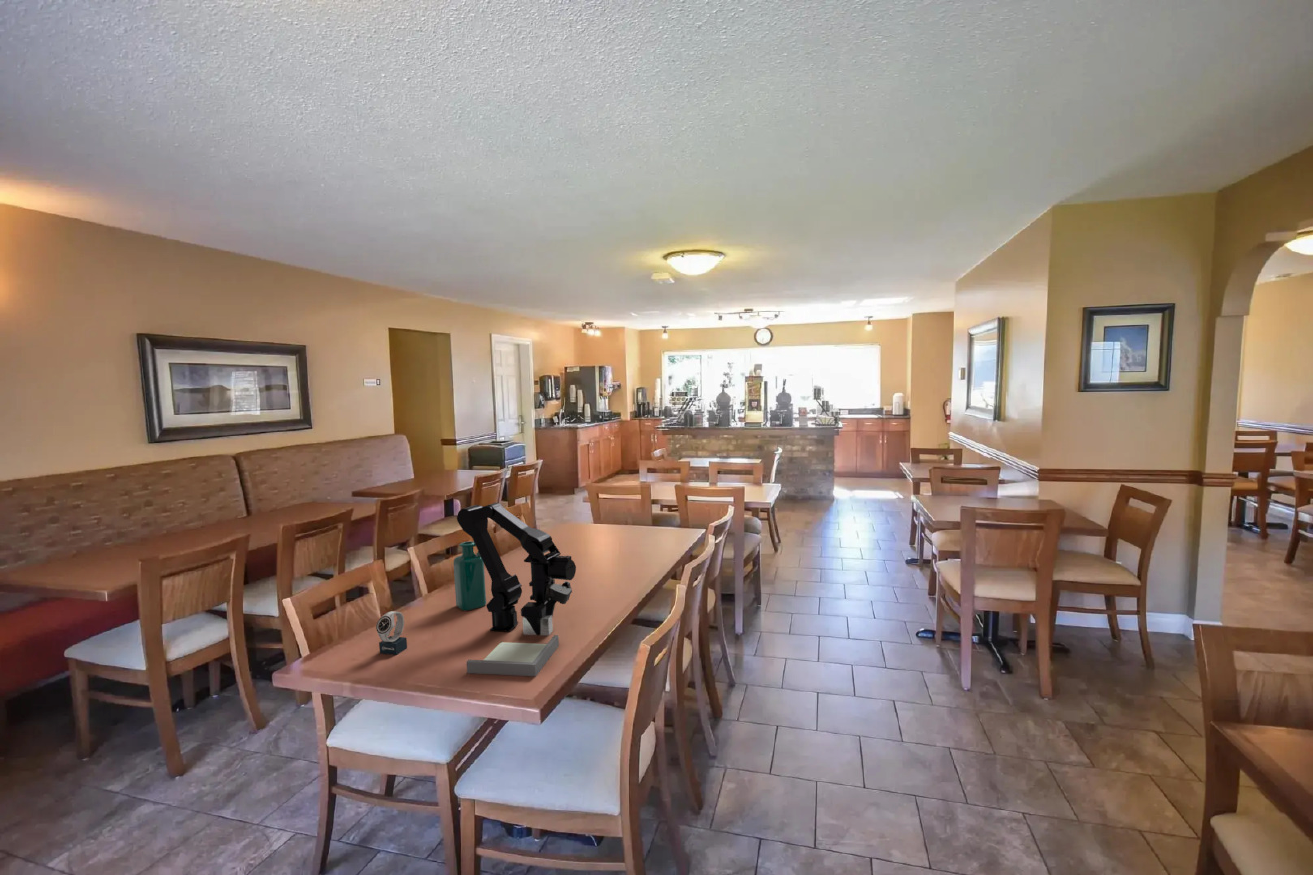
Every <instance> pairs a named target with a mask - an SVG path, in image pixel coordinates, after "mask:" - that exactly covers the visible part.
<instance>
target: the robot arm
mask: <svg viewBox="0 0 1313 875" xmlns="http://www.w3.org/2000/svg"><path fill="white" fill-rule="evenodd" d="M489 519H490V520H491V521H493V522H495V523H496V524H497V525H498V526H499V527H501V528H502V529H504V531H506V532H507V533H509V534H510V535H512V536H513V537H514V538H515V539H517V540H518V541H519V543H520V545H521V547H522V549H523V550H524V551H525V552H526V553H527V554H528V555H527V557H526V558H524V559H523V562H524V563H528V564H529V563H530V571H531V572H530V574H531V581H530V582H529V583H528V584H529V585H528V586H529V587H531V592H532V593H531V595H530V596H529V601H527V602H526V604H524V605H523V606H522V608H520V616H521V617H522V618H523V617H524V618H526V619H527V621H528V622H529V624H530V625H531V627H532V629H533V630H534V632H535V634H536V635H535V636H541V635H540V634H541V623H542V617H543V616H544V615H552V618H553V617H554V611H555V607H556V604H557V603H559V604H561V605H565V604H566V603H568V601H569V600H570V597H571V594H572V593H573V590H572V589H573V588H572V586H571V582H570V581H572V580H573V579H574V578H575V576H576V570H577V566H576V563H575V561H574V560H573V559H572V555H562V554H561V552H560V549H558V547H557V545H556V544H555V543H554V541H553V537H552V536H551V535H550V534H549V533H548V532H545V531H543V530H541V529H538V528H535V527H531V526H529V525H527V524H526V523H525V522H524V521H522V520H521V519H519V518H518V517H517V516H515V515H514V514H512V513H511V512H510V511H508V510H507V509H506V508H504V507H503V505H502V504H501V503H498V502H492V503H490V504H487V505H483V506H482V505H479V504H474V505H472V506H468V507H465V508H460V510H458V513H457V515H456V520H457V524H458V525H459V527H460V528H461V529H462V531H463V532H464V533H466V534H467V535H469V537H471V538H472V540H473V541H472V542H474V543H475V545H476V546H475V547H476V549H477V552H478V551H479V554H480V556H481V558H482V560H483V562H484V568H486V571H487V573H488V575H489V578H490V580H491V588H490V592H491V595H492V598H491V599H490V600H489V601H488V603H486V605H485V606H486V609H487V611H488V612H489V613H491V622H492V626H491V627H490V628H489V630H490V632H511V631H512V630H513V629H514V628H515V627H517V625H518V624H519V621H518V612H517V610H516V606H515V605H517V604H518V603H519V600H520V598H521V596H522V593H523V590H522V587H523V585H522V583H520V581H519V577H518V576H517V574H514V575H512V574H510V573H509V572H508V571H507V569H506V567H505V565H504V563H503V560H502V559H501V556H500V554H499V551H498V550H497V548H496V545H495V543H494V541H493V539H492V536H491V534H490V532H489V530H488V525H489ZM555 580H562V581H564V582H563V583H556V582H555Z"/></svg>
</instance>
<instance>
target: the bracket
mask: <svg viewBox="0 0 1313 875" xmlns="http://www.w3.org/2000/svg"><path fill="white" fill-rule="evenodd" d="M521 619H522V631H523V632H522V635H525V636H528V635H529V636H537V635H536V634H535V632H534V630H533V629H532V627H531V625H530V624H529V622H528V621H527V619H526V618H524V617H522V618H521ZM553 628H554V627H553V617H552V615H544V616H543V617H542V623H541V634H540V635H539V636H550V635H551V633H553V631H554V630H553Z"/></svg>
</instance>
